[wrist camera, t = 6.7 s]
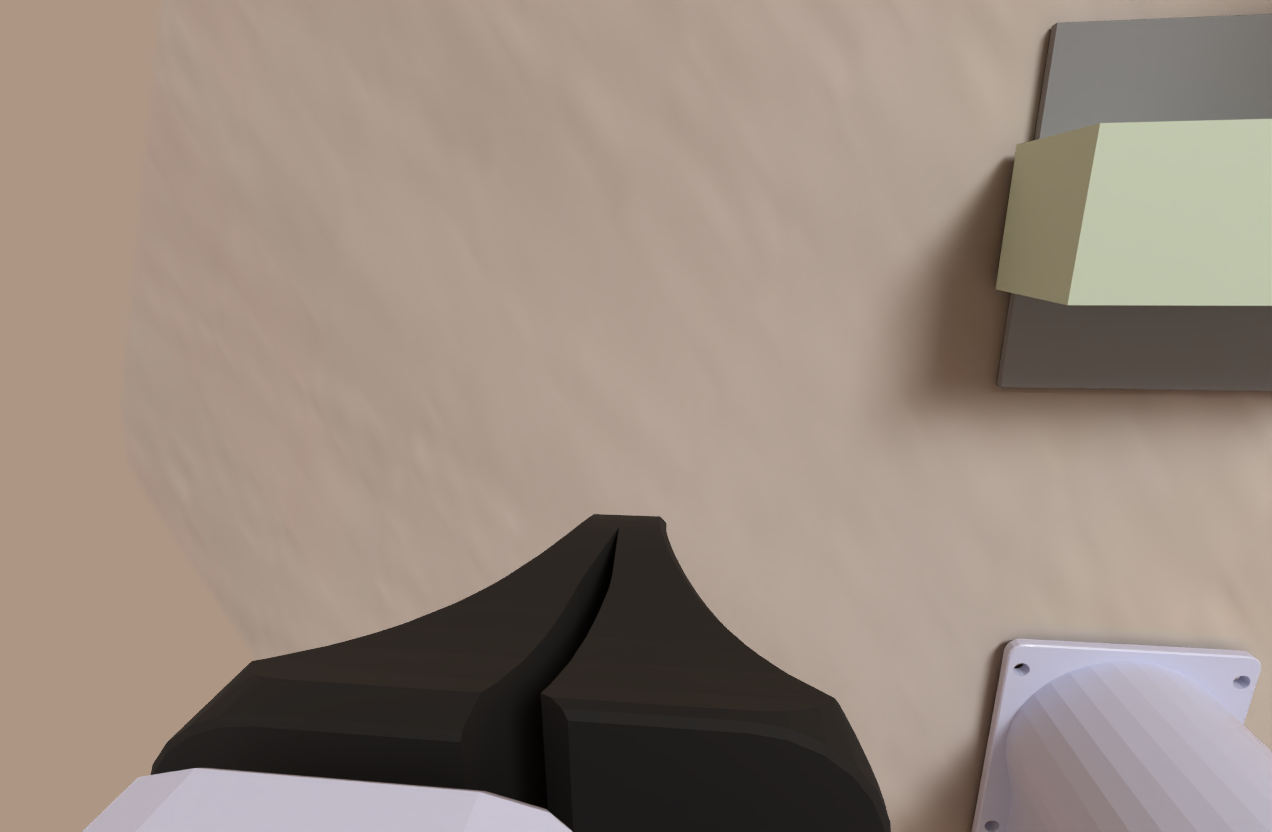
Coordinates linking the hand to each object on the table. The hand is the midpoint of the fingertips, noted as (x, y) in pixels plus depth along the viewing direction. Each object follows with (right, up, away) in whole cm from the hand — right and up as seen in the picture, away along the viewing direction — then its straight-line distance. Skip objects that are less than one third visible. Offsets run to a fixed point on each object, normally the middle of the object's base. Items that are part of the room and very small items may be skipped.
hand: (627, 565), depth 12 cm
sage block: (+11, +8, +5) cm, 14 cm away
